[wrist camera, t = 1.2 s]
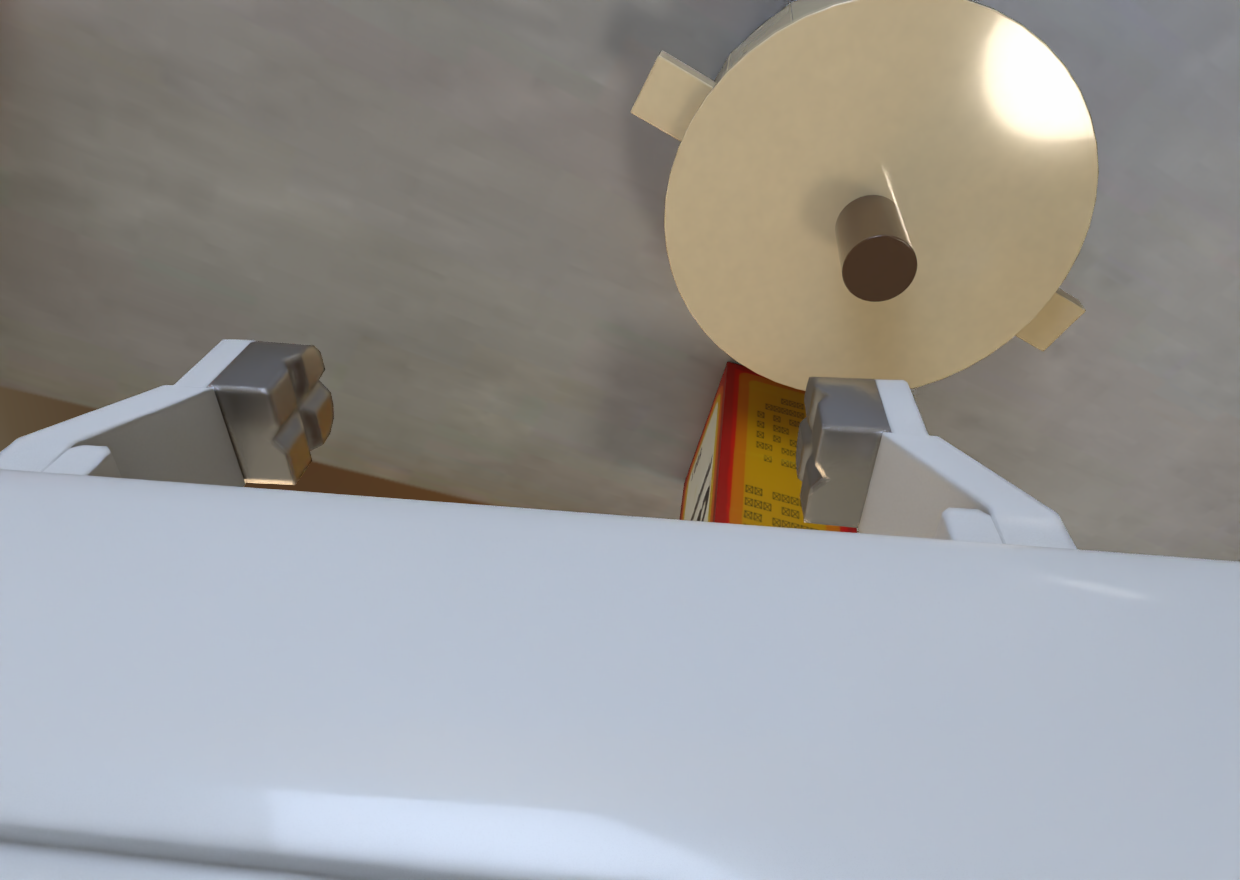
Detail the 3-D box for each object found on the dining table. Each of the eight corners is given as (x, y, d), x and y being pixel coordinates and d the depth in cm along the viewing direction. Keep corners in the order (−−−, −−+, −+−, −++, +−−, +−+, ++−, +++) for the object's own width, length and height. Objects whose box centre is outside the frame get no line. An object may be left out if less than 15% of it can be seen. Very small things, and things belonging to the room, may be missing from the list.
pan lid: (817, -113, 26) (826, -103, 22) (1193, 137, 29) (1261, 186, 25) (602, 278, 36) (581, 334, 32) (898, 437, 39) (913, 506, 35)
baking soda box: (783, 509, 50) (787, 734, 38) (684, 483, 50) (655, 700, 38) (839, 391, 44) (866, 611, 32) (727, 361, 44) (710, 570, 32)
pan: (754, -139, 31) (751, -133, 26) (1164, 132, 34) (1233, 185, 29) (587, 198, 40) (560, 252, 35) (923, 384, 43) (944, 457, 38)
